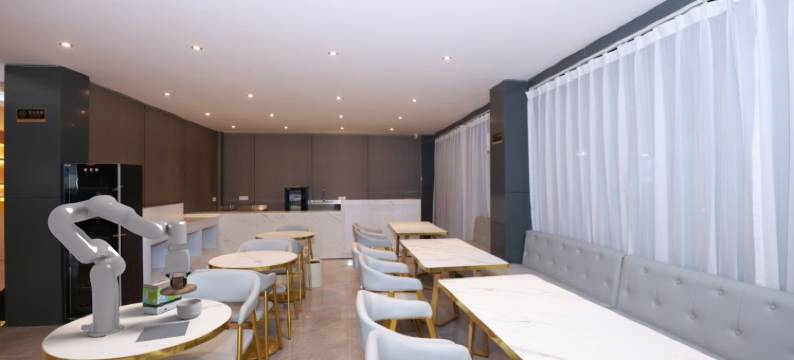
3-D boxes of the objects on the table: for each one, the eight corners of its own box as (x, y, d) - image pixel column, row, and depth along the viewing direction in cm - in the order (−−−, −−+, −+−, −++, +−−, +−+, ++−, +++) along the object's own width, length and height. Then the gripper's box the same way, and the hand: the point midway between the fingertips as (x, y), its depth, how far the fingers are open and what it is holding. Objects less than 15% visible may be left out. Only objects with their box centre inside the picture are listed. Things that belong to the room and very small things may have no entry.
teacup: (191, 322, 185) (191, 305, 185) (171, 321, 187) (170, 304, 187) (210, 312, 198) (210, 296, 198) (192, 311, 200) (191, 295, 200)
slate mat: (135, 343, 162) (135, 342, 162) (145, 328, 178) (145, 326, 178) (184, 336, 168) (184, 335, 168) (189, 322, 185) (189, 321, 185)
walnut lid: (156, 297, 173) (155, 283, 173) (163, 288, 187) (163, 275, 187) (194, 293, 178) (194, 279, 178) (199, 284, 192) (198, 272, 192)
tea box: (157, 315, 195) (157, 285, 195) (142, 313, 198) (141, 284, 198) (182, 305, 209) (182, 278, 209) (167, 304, 212) (167, 276, 212)
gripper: (155, 250, 176) (156, 291, 176) (196, 247, 182) (197, 287, 182) (159, 247, 183) (160, 286, 183) (199, 244, 189) (199, 282, 189)
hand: (178, 286), depth 183 cm, fingers closed on walnut lid, 4 cm apart
